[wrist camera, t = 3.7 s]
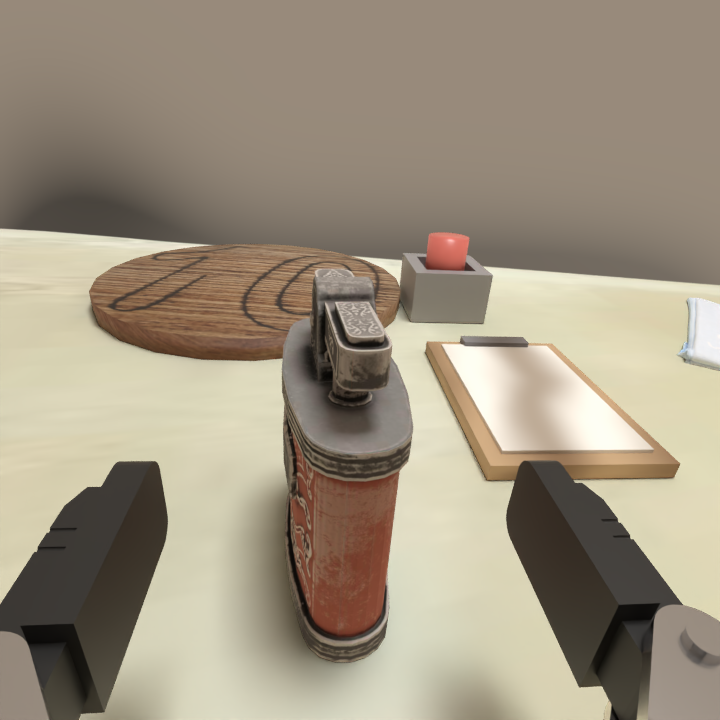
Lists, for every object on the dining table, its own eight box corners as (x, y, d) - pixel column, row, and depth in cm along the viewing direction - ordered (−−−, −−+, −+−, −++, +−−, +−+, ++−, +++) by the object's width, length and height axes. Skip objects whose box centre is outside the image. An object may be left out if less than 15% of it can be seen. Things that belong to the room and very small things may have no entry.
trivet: (12, 347, 30) (4, 320, 29) (176, 253, 52) (174, 236, 52) (399, 381, 29) (401, 354, 28) (398, 271, 51) (400, 254, 51)
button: (427, 292, 38) (434, 240, 36) (419, 280, 40) (425, 231, 39) (465, 293, 38) (474, 241, 36) (455, 281, 41) (462, 233, 39)
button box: (410, 321, 37) (416, 273, 35) (398, 296, 42) (403, 253, 41) (483, 323, 38) (492, 275, 36) (462, 298, 43) (469, 255, 41)
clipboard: (487, 480, 21) (492, 456, 20) (425, 352, 32) (427, 334, 32) (674, 477, 22) (684, 455, 21) (549, 353, 33) (553, 337, 33)
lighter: (281, 478, 20) (276, 246, 16) (358, 471, 21) (375, 247, 16) (291, 671, 13) (287, 351, 9) (407, 653, 14) (460, 346, 9)
